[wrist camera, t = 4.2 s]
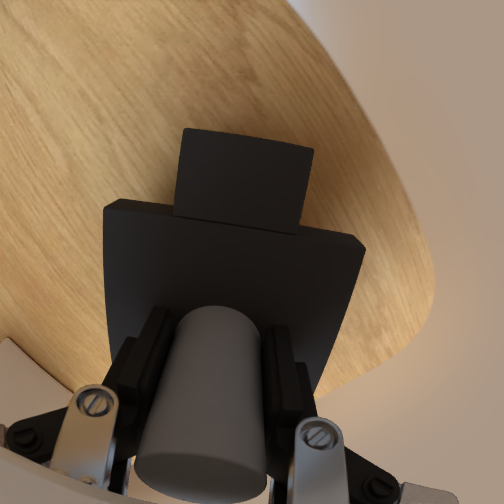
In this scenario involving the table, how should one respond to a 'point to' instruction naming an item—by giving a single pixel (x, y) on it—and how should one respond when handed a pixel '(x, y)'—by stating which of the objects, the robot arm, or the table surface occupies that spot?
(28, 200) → the table surface
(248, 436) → the pad
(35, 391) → the medicine bottle
